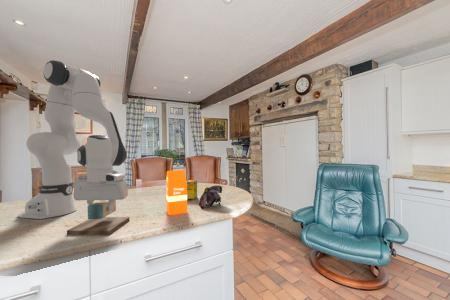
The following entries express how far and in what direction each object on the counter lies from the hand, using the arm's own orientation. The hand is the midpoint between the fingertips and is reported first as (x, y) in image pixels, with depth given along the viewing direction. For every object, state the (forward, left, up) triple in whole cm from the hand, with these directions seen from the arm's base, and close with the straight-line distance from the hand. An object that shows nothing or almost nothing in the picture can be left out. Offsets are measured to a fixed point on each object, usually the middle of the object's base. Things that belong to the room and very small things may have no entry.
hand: (101, 210), depth 82 cm
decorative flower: (+41, +29, -7) cm, 51 cm away
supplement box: (+27, +43, -7) cm, 51 cm away
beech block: (0, +6, +1) cm, 6 cm away
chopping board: (0, 0, -6) cm, 6 cm away
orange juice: (+25, +19, -7) cm, 32 cm away
